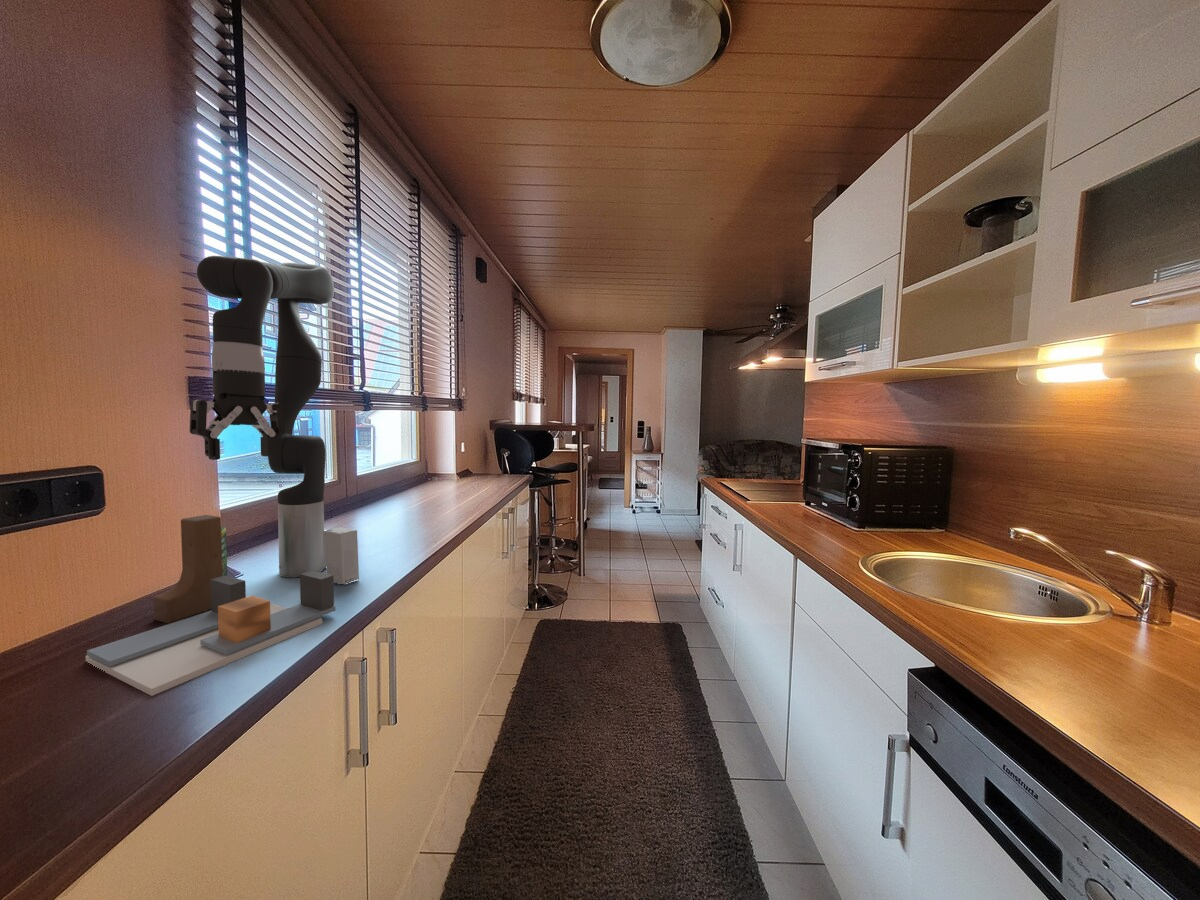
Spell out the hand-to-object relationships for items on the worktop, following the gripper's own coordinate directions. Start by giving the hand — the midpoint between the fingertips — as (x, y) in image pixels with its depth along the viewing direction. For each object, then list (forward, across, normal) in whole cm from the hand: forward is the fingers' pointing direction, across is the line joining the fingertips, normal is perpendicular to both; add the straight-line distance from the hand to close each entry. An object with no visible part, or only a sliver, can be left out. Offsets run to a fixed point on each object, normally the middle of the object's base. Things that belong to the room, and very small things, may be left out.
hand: (241, 457), depth 83 cm
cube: (+28, +6, +12) cm, 31 cm away
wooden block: (+30, +4, -10) cm, 32 cm away
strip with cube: (+29, +2, +12) cm, 31 cm away
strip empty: (+29, +11, +1) cm, 31 cm away
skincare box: (+30, -20, 0) cm, 36 cm away
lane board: (+30, +8, +6) cm, 32 cm away
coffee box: (+30, -4, -18) cm, 35 cm away
